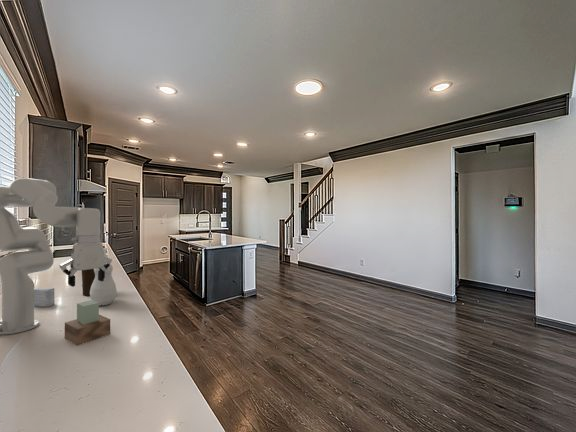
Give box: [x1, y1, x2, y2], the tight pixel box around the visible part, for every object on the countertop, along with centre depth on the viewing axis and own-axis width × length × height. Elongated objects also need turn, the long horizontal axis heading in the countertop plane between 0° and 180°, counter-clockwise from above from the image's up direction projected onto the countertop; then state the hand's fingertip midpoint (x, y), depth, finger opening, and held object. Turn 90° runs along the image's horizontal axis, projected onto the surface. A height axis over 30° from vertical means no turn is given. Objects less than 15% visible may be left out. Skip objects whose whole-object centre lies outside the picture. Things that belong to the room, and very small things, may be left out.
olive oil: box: [81, 269, 95, 297], centre depth 159 cm, size 11×11×25 cm
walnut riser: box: [64, 314, 111, 347], centre depth 105 cm, size 11×11×6 cm
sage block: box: [76, 299, 100, 325], centre depth 105 cm, size 5×6×7 cm
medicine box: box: [34, 287, 55, 308], centre depth 139 cm, size 8×4×9 cm, turn 84°
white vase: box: [89, 247, 117, 307], centre depth 143 cm, size 17×12×29 cm
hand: (87, 283), depth 105 cm, fingers open, 9 cm apart
